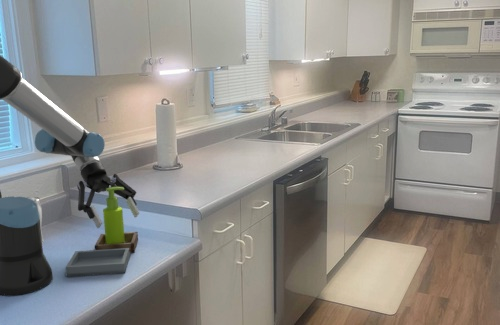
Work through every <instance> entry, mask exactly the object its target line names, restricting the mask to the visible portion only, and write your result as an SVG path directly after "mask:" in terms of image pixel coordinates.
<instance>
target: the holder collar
mask: <svg viewBox="0 0 500 325" xmlns="http://www.w3.org/2000/svg"><path fill="white" fill-rule="evenodd" d="M138 236H139V234H138V231H130V232H129V231H128V232H127V231H126V232H124V238H125V243H117V244H106V237H105V233H100V235H99V236H98V238H97V240H96V242H95V245H94V250H104V249H120V248H129V252H130V254H134V253H135V252H136V248H137V247H138V246H137V245H138V242H139V237H138Z"/></svg>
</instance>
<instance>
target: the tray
mask: <svg viewBox="0 0 500 325" xmlns="http://www.w3.org/2000/svg"><path fill="white" fill-rule="evenodd" d="M130 258H131V253H130V252H129V248H120V249H104V250H95V249H92V250H91V249H90V250H76V251H74V252H73V254H72V256H71V258H70V260H69V261H68V262H67V265H66V266H65V273H66V278H76V277H77V278H78V277H92V276H106V275H107V276H108V275H119V274H126V271H127V268H128V264H129V261H130Z"/></svg>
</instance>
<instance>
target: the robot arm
mask: <svg viewBox="0 0 500 325" xmlns="http://www.w3.org/2000/svg"><path fill="white" fill-rule="evenodd" d="M0 100H2V101H4V102H6V103H7V104H8V105H9V106H10V107H12V108H14V109H15V110H16V111H17V112H19V114H21V115H23V116H25V117H26V118H27V119H29V121H31V122H33V123H34V124H36V125H37V126H38V127H40V128H41V129H40V130H39V131H38V132H37V133H36V134H35V138H34V139H35V140H34V145H35V148H36V150H37V151H39V152H40V153H45V154H52V155H63V156H70V157H71V158H72V161H73V162H74V164H75V166H76V168H77V170H78V172H79V174H80V176H81V178H82V179H83V180H80V181H78V184H77V190H78V202H77V204H78V205H77V210H78V211H79V212H80V211H83V213H85V214H87V216H88V218H89V219H90V220H92V221H93V222H94V224H95V227H96V229H99V228H101V226H102V224H103V222H102V220H101V218H100V216H99V214H98V212H97V210H96V208H95V207H94V205H92V206H91V204H92V202H93V200H94V197H95V193H97V194H100V193H101V192H107V190H106V188H111V187H123V188H124V190H114V195H117V196H119V197H120V198H123V199H125V200H126V201H125V202H126V204H127V207H128V209H130V211H131V213H132V215H133V218H137V217H138V216H139V214H140V210H139V208H138V207H137V205H138V204H137V202H136V200H135V197H136V194H137V191H136V190H135V189H134V188H132V187H131V186H130V185H128V184H127V183H126V182H125V181H124V180H122V179H121V178H120V177H119V176H118V174H116V173H114V174H113V175H112V176H109V175H108V174H107V170H106V169H105V167H104V165H103V164H102V161H101V160H100V158H99V156H100V155H102V154H103V152H104V149H105V145H106V144H105V139H104V136H102V135H101V134H100V133H97V132H94V131H91V132H89V131H88V130H87V129H86V128H84V127H83V126H82V125H80V124H79V123H78V122H77V121H75V119H73V118H72V117H71V116H70V115H68V114H67V113H66V112H65V111H63V110H62V109H61V108H60V107H58V106H57V105H56V104H55V103H53V101H51V100H50V99H49V98H47V97H46V96H45V95H44V94H43V93H41V92H40V91H39V90H38V89H37V88H35V87H34V86H33V85H32V84H30V83H29V82H28V81H27V80H25V79H24V78H23V74H22V72H21V70H20V69H18V68H17V67H16V66H15V65H14V64H12V63H11V62H10V61H9V60H7V59H6V58H5V57H4V56H2V55H0ZM86 187H87V188H88V189H90V191H89V195H88V198H87V200H86V203H85V194H86V192H85V191H86ZM41 232H42V227H41V228H40V215H39V212H38V207H37V204H36V203H35V202H34V201H33V200H31V199H29V198H27V197H25V196H4V197H3V196H2V191H1V190H0V296H5V297H6V296H7V297H10V296H20V295H26V294H30V293H34V292H36V291H39V290H41V289H43V288H45V287H47V286H48V285H50V283H51V282H53V279H54V276H53V275H54V274H53V269H52V267H51V266H50V264H49V262H48V259H47V258H46V256H45V253H44V249H43V242H42V238H41Z"/></svg>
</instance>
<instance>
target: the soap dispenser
mask: <svg viewBox="0 0 500 325" xmlns="http://www.w3.org/2000/svg"><path fill="white" fill-rule="evenodd" d="M110 187H111V186H110ZM114 190H124V188H123V187H111V188H106V192H108V197H107V198H106V199H105V200H106V207H105V208H103V210H102V211H103V212H102V213H103V214H102V215H103V224H104V226H103V227H104V234H105V237H106V243H105V244H117V243H126V242H125V238H124V233H125V227H124V215H123V207H122V206H119V204H118V203H119V202H118V197H116V196H115V193H114Z"/></svg>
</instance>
